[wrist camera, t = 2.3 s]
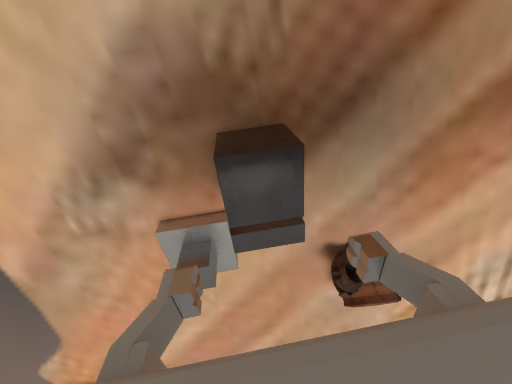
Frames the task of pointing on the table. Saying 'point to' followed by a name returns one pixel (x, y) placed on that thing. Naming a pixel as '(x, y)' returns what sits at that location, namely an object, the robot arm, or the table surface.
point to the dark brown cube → (260, 174)
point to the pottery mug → (358, 286)
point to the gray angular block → (221, 241)
